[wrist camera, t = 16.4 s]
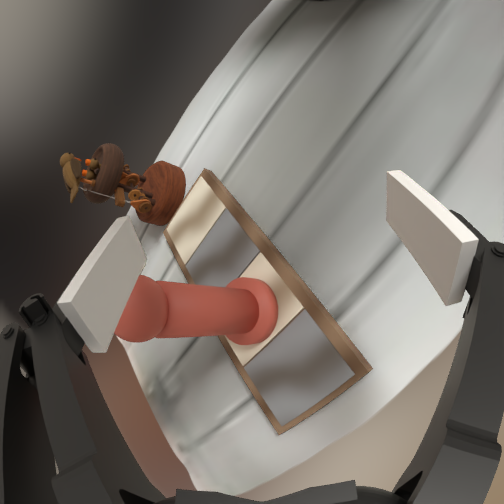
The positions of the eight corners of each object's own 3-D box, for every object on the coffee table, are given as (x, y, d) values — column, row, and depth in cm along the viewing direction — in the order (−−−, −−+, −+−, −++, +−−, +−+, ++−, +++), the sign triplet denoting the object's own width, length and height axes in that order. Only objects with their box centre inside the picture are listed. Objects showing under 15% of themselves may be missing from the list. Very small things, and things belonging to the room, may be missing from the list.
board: (170, 234, 46) (161, 232, 45) (211, 171, 42) (203, 167, 41) (286, 430, 28) (278, 435, 27) (372, 368, 24) (367, 372, 22)
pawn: (218, 306, 35) (85, 299, 22) (254, 264, 32) (111, 237, 20) (247, 356, 31) (103, 372, 19) (290, 316, 28) (135, 317, 16)
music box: (200, 183, 43) (70, 150, 28) (171, 244, 47) (49, 229, 32) (166, 149, 52) (66, 121, 37) (143, 199, 56) (48, 181, 41)
